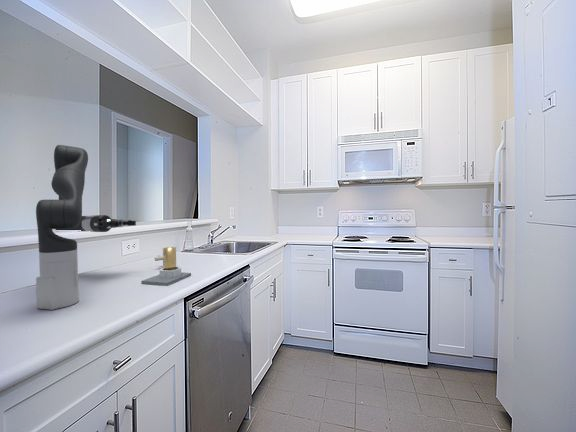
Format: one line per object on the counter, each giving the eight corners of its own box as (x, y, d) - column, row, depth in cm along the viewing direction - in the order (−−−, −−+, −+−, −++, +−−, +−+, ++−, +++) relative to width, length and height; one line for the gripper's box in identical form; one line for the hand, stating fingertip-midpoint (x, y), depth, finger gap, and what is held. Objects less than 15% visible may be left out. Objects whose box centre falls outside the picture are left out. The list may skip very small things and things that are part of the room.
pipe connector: (179, 266, 138) (179, 247, 138) (161, 270, 130) (161, 250, 129) (168, 264, 143) (167, 246, 143) (149, 268, 135) (149, 248, 135)
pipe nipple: (171, 277, 113) (171, 249, 113) (161, 276, 115) (161, 248, 114) (178, 274, 118) (178, 247, 118) (169, 273, 119) (168, 246, 119)
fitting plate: (167, 285, 105) (167, 275, 105) (141, 283, 108) (141, 273, 108) (191, 275, 121) (190, 266, 121) (167, 274, 124) (167, 265, 123)
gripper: (81, 215, 113) (112, 215, 109) (111, 214, 126) (140, 214, 123) (81, 233, 113) (113, 233, 109) (111, 230, 127) (140, 231, 123)
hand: (127, 223), depth 116 cm, fingers open, 8 cm apart
